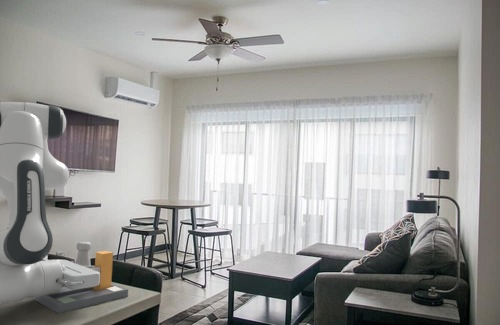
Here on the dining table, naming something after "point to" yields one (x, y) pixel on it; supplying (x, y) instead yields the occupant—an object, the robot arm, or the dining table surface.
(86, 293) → the panel
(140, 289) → the dining table surface
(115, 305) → the dining table surface
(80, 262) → the salt shaker
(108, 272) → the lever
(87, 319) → the dining table surface
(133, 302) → the dining table surface
